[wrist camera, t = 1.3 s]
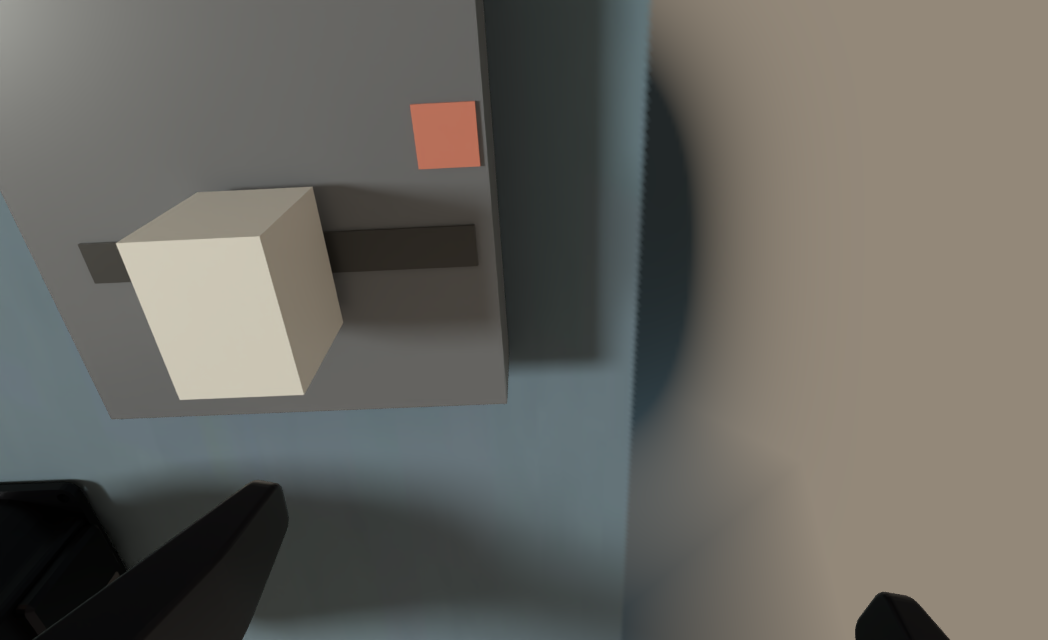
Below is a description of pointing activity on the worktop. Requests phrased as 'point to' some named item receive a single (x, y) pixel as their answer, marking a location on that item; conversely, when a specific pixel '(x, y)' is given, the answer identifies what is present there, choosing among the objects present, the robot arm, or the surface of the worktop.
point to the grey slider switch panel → (266, 178)
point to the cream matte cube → (237, 291)
